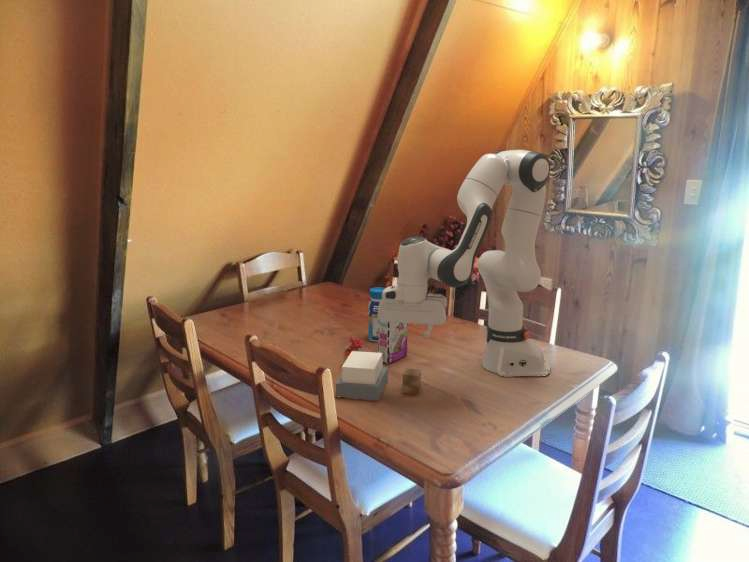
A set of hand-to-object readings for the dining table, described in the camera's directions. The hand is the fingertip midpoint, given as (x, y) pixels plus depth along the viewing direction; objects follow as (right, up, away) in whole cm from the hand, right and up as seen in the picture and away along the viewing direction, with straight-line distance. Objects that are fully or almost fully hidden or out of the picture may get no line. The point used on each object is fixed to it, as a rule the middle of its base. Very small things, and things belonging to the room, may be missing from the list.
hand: (411, 336), depth 168 cm
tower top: (-15, -12, +5) cm, 20 cm away
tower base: (-15, -17, +6) cm, 23 cm away
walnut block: (+1, -17, +4) cm, 18 cm away
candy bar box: (-4, -11, +29) cm, 32 cm away
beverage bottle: (-9, -6, +49) cm, 50 cm away
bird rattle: (-18, -13, +22) cm, 31 cm away
